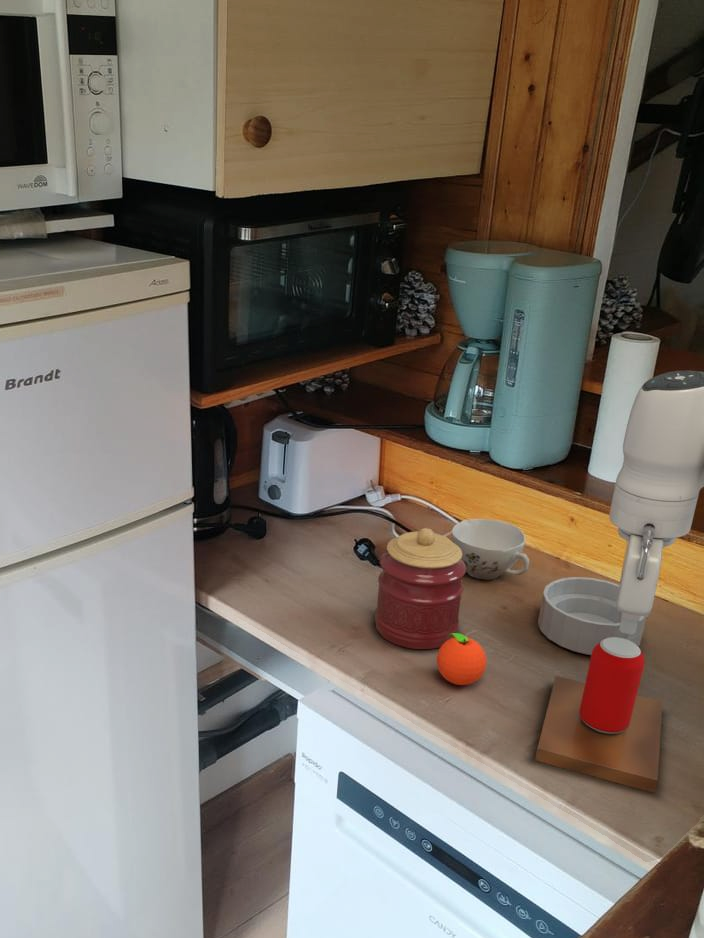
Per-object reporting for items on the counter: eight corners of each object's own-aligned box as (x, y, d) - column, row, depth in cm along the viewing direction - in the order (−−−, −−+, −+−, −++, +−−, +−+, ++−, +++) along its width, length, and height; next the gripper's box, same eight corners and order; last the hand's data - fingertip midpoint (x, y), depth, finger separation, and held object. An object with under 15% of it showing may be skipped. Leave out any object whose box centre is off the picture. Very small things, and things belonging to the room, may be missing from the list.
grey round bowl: (642, 621, 147) (649, 589, 144) (636, 668, 134) (645, 634, 132) (544, 601, 153) (550, 569, 150) (531, 644, 140) (537, 611, 138)
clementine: (422, 667, 134) (427, 626, 131) (464, 660, 136) (470, 620, 133) (448, 698, 127) (454, 655, 124) (492, 690, 129) (499, 648, 126)
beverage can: (626, 743, 115) (646, 664, 110) (575, 730, 118) (592, 652, 112) (629, 717, 120) (648, 640, 115) (580, 705, 123) (596, 629, 117)
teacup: (432, 568, 163) (437, 528, 160) (478, 551, 170) (483, 512, 166) (499, 602, 152) (506, 559, 149) (545, 582, 159) (553, 541, 155)
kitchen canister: (357, 630, 144) (366, 529, 136) (402, 601, 152) (413, 504, 145) (429, 661, 136) (442, 556, 128) (472, 628, 144) (487, 528, 137)
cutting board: (659, 712, 125) (662, 700, 124) (654, 793, 110) (657, 780, 109) (553, 687, 130) (555, 675, 129) (534, 760, 115) (537, 748, 114)
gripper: (679, 550, 96) (653, 660, 102) (682, 484, 113) (660, 582, 119) (616, 540, 98) (594, 648, 104) (628, 477, 115) (608, 573, 121)
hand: (629, 612), depth 112 cm, fingers open, 8 cm apart
